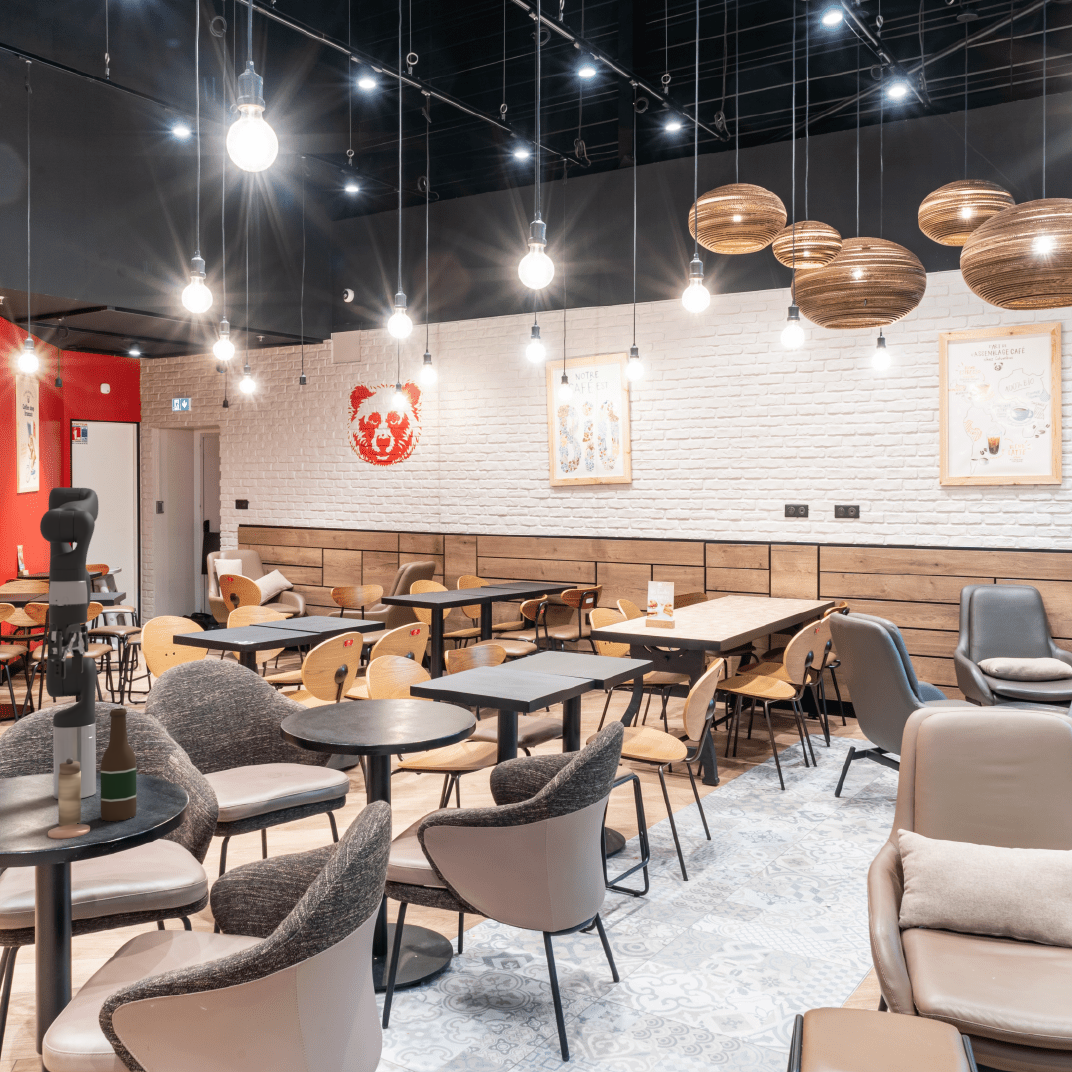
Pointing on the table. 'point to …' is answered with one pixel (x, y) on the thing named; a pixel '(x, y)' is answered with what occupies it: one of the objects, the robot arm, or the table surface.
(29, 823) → the table surface
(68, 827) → the saucer
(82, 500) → the robot arm
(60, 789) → the pepper mill
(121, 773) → the beer bottle
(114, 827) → the table surface
